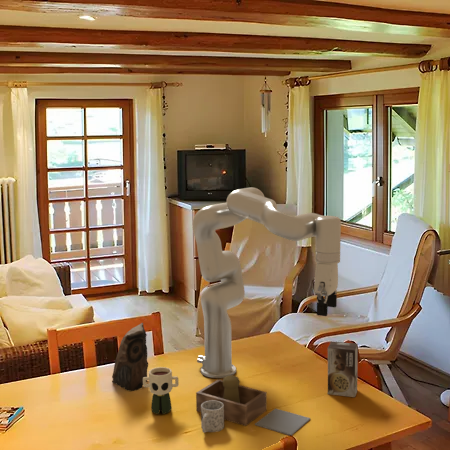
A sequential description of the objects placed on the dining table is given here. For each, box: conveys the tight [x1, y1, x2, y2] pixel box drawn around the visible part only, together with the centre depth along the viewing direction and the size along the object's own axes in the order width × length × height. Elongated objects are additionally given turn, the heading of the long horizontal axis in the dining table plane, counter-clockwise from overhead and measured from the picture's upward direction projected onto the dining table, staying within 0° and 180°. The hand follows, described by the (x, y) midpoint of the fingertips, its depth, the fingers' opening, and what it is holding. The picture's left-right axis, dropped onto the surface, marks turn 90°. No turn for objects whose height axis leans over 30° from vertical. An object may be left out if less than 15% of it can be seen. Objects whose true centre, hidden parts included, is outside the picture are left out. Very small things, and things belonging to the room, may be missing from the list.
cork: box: [222, 375, 241, 403], centre depth 196 cm, size 6×6×11 cm
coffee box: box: [327, 340, 359, 398], centre depth 208 cm, size 9×6×16 cm
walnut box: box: [195, 378, 268, 427], centre depth 197 cm, size 18×12×6 cm, turn 56°
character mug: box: [142, 366, 179, 415], centre depth 196 cm, size 11×7×13 cm, turn 91°
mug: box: [200, 401, 225, 433], centre depth 185 cm, size 10×7×7 cm, turn 157°
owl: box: [111, 322, 149, 392], centre depth 216 cm, size 13×13×20 cm
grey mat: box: [254, 408, 311, 437], centre depth 189 cm, size 12×12×1 cm
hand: (326, 311), depth 197 cm, fingers open, 9 cm apart
